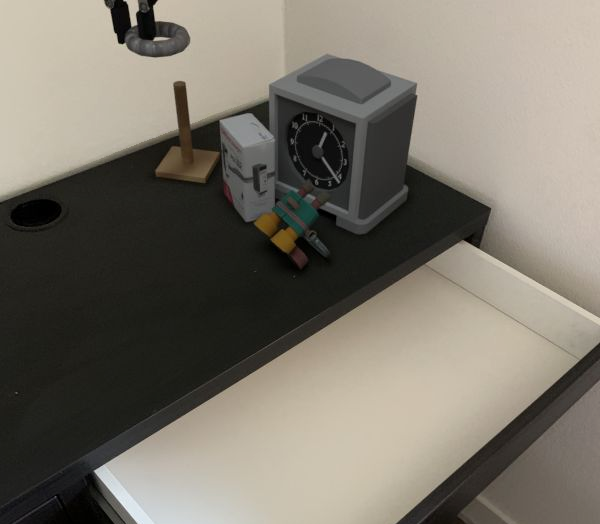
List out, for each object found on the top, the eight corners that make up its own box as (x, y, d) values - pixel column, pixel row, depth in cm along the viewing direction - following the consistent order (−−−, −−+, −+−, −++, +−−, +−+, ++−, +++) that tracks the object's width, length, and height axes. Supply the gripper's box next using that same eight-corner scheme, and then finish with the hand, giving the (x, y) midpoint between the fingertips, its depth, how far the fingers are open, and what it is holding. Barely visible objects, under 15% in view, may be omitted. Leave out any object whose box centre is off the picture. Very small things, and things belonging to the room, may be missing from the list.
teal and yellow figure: (277, 251, 94) (241, 211, 86) (323, 205, 93) (292, 160, 85) (314, 287, 89) (280, 248, 81) (363, 238, 88) (334, 194, 80)
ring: (116, 55, 82) (113, 39, 80) (140, 31, 87) (138, 16, 86) (177, 63, 81) (175, 47, 79) (198, 38, 86) (197, 23, 84)
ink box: (222, 194, 100) (217, 117, 91) (251, 186, 101) (249, 110, 92) (246, 224, 95) (242, 146, 86) (276, 215, 96) (276, 138, 87)
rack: (155, 176, 102) (142, 92, 93) (173, 151, 108) (162, 68, 98) (205, 183, 102) (197, 98, 92) (220, 157, 107) (214, 75, 97)
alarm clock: (261, 191, 100) (258, 66, 87) (312, 157, 107) (317, 36, 94) (362, 236, 93) (376, 108, 80) (410, 196, 100) (430, 72, 87)
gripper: (21, -142, 69) (64, 46, 83) (167, -130, 67) (186, 60, 80) (54, -156, 74) (90, 24, 87) (192, -145, 71) (206, 37, 85)
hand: (136, 40), depth 84 cm, fingers closed on ring, 2 cm apart
